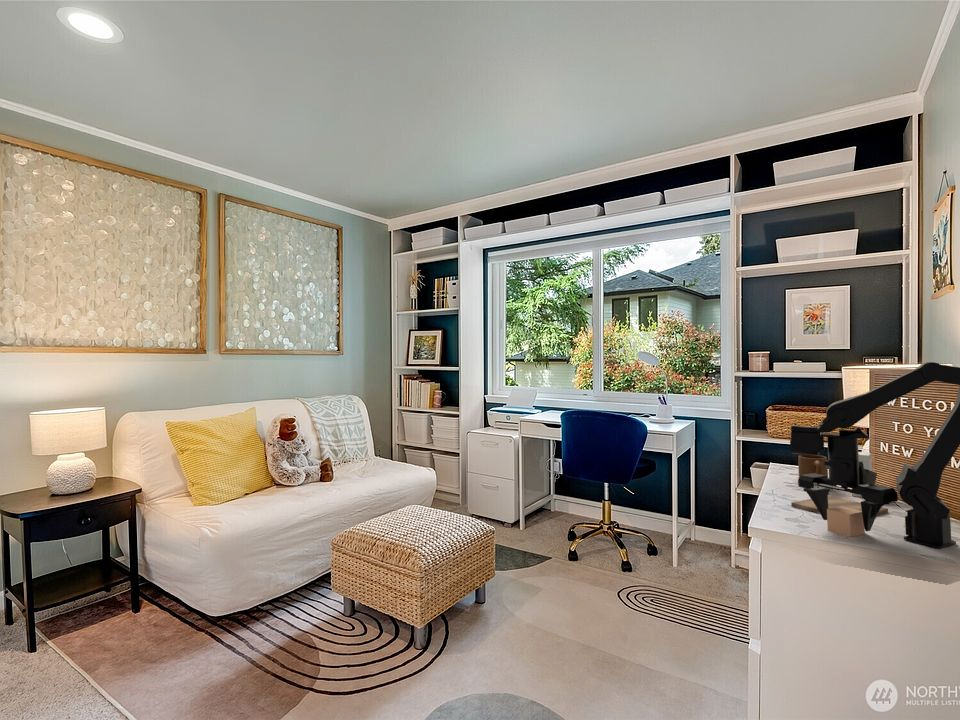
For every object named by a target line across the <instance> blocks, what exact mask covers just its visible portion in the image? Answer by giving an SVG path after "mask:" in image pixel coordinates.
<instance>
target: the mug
mask: <svg viewBox="0 0 960 720" xmlns="http://www.w3.org/2000/svg"><path fill="white" fill-rule="evenodd" d="M797 460H798V462H797V465H798V466H797V467H798V468H797V469H798V478H799V477H800V476H801V475H804V474H811V473H815V474H820V475H826V476H827V477H828V478H829V466H827V465H825V461H827V460H828V457H827V456H824V455H820V454H819V455H804V454H798V459H797Z"/></svg>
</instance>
